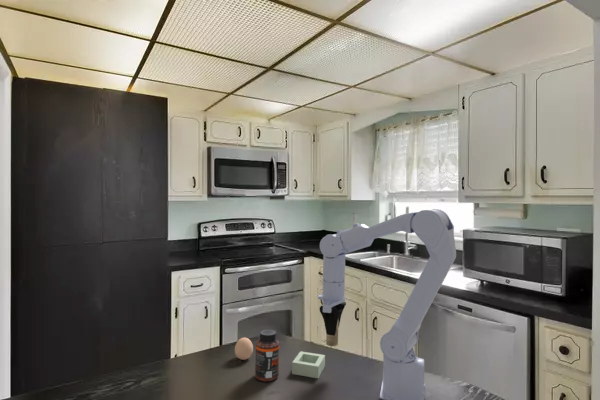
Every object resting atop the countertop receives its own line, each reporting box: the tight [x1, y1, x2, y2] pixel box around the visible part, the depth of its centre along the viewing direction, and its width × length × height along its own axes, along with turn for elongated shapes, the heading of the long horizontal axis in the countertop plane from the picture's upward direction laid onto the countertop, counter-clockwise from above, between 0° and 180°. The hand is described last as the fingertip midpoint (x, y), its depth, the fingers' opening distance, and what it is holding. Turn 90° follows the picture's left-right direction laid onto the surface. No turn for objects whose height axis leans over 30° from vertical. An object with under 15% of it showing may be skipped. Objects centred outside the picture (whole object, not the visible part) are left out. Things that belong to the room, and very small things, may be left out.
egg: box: [234, 337, 254, 361], centre depth 99 cm, size 5×5×6 cm
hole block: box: [291, 350, 326, 379], centre depth 94 cm, size 7×7×3 cm
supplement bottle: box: [254, 329, 280, 382], centre depth 90 cm, size 6×6×11 cm
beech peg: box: [325, 308, 339, 347], centre depth 93 cm, size 3×3×9 cm
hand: (332, 332), depth 93 cm, fingers closed on beech peg, 3 cm apart
